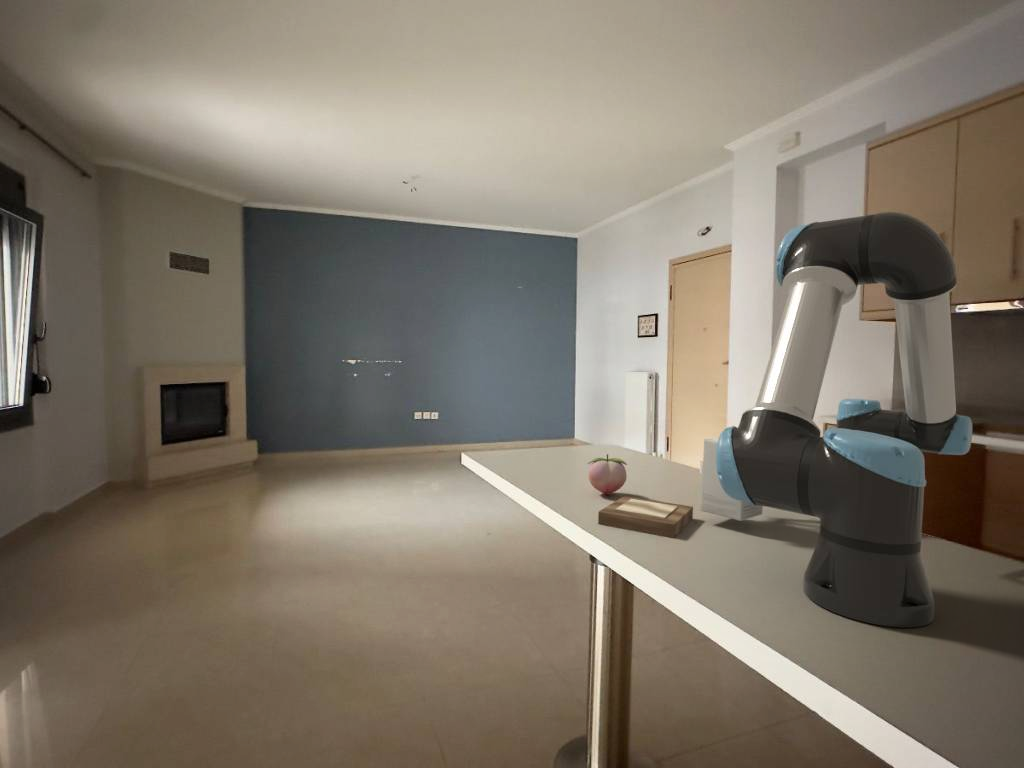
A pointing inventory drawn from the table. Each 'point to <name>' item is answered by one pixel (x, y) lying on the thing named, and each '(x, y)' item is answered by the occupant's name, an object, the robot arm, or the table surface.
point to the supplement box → (721, 490)
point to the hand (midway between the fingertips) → (716, 473)
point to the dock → (646, 516)
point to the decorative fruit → (607, 474)
